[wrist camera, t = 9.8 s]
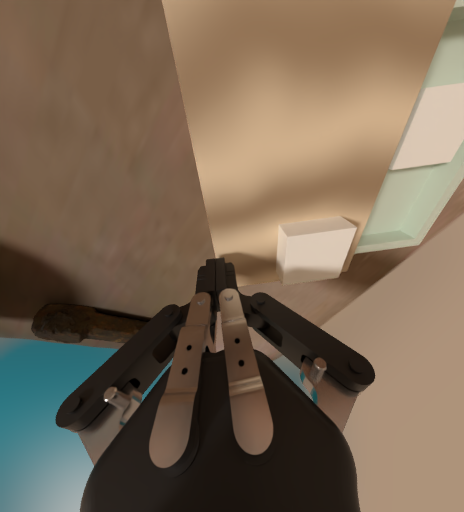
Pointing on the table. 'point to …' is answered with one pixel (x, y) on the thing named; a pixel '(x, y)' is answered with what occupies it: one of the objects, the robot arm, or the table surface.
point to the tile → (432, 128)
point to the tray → (422, 177)
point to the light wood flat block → (296, 110)
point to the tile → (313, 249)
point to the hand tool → (82, 324)
